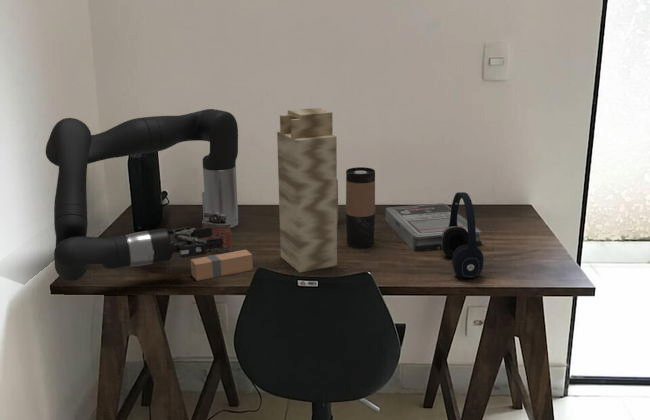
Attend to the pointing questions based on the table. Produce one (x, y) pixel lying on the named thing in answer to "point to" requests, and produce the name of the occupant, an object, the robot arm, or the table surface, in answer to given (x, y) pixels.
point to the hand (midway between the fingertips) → (216, 236)
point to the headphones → (462, 241)
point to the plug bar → (221, 264)
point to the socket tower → (307, 189)
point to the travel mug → (360, 207)
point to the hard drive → (423, 224)
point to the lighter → (218, 230)
